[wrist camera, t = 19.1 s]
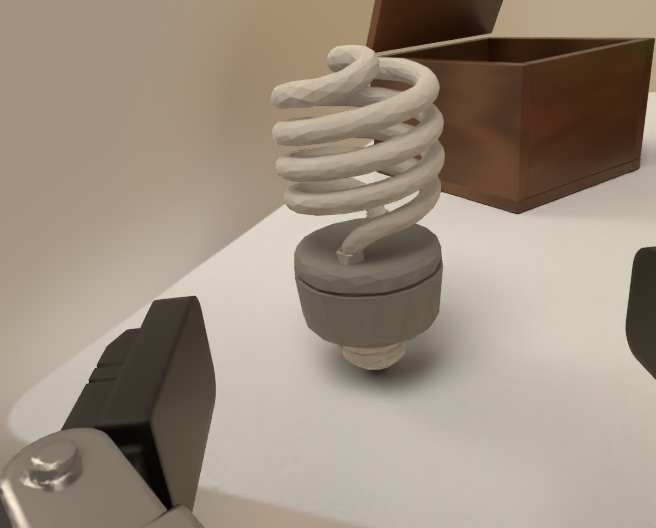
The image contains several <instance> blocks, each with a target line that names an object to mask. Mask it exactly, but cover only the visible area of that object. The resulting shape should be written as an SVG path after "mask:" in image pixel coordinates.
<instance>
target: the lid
mask: <svg viewBox="0 0 656 528" xmlns="http://www.w3.org/2000/svg"><path fill="white" fill-rule="evenodd" d="M502 2H503V0H375V3H374V8H373V13H372V18H371V23H370V28H369V34H368V39H367V44H366V47H368V48H370V49H371V50H373V51H374V52H375V53H377V52H383V51H388V50H394V49H400V48H406V47H412V46H418V45H424V44H430V43H436V42H442V41H448V40H454V39H460V38H465V37H471V36H477V35H483V34H489V33H492V30H493V28H494V25H495V22H496V19H497V16H498V13H499V10H500V7H501V5H502Z"/></svg>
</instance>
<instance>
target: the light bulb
mask: <svg viewBox="0 0 656 528" xmlns="http://www.w3.org/2000/svg"><path fill="white" fill-rule="evenodd" d="M327 63H328V66H329V68H330V69H331V71H334V72H336V73H333V74H330V75H327V76H324V77H320V78H317V79H312V80H299V81H294V82H289V83H284V84H281V85H279V86H277V87H275V89H274V91H273V93H272V95H271V101H272V103H273V105H274V106H275V107H276V108H279V109H288V108H304V107H313V106H354V107H361V108H358V109H354V110H351V111H347V112H341V113H337V114H332V115H327V116H322V117H304V118H294V119H287V120H283V121H280V122H278V123H277V124H276V125H275V126H274V128H273V131H272V136H273V139H274V140H275V141H276V142H277V143H278V144H279V145H284V146H304V145H312V144H320V143H327V142H335V141H340V140H344V139H348V138H369V139H376V140H381V141H384V142H381V143H378V144H375V145H371V146H368V147H365V148H357V147H322V148H313V149H304V150H299V151H294V152H291V153H287V154H284V155H282V156H281V157H280V158H279V159H278V160H277V163H276V171H277V172H278V174H279V176H281V177H282V178H284V179H286V180H290V181H295V182H300V183H297V184H295V185H292V186H290V187H289V188H288V189H287V190H286V191H285V193H284V201H285V203H286V205H287V206H288V208H289V209H291V210H293V211H295V212H296V213H300V214H307V215H316V216H321V215H335V214H346V213H352V212H357V211H363V210H366V211H367V212H368V213H366V216H367V218H362V219H354V220H349V221H345V222H340V223H335V224H332V225H329V226H326V227H324V228H321V229H319V230H316V231H314V232H312V233H311V234H309V235H307V236H306V237H304V239H303V240H302V241H301V242H300V243H299V244H298V246H297V248H296V250H295V253H294V265H295V266H294V269H295V280H296V284H297V289H298V293H299V298H300V302H301V306H302V311H303V314H304V317H305V320H306V322H307V325H308V327H309V328H310V329H311V330H312V331H313V332H315V333H316V334H317V335H319V336H320V337H321V338H322V339H324V340H326V341H329V342H332V343H334V344H337V345H340V346H342V353H343V356H344V357H345V358H346V360H347V361H349V362H350V363H352V364H354V365H356V366H358V367H361V368H364V369H367V370H375V371H379V370H381V369H384V368H387V367H390V366H391V365H393V364H394V363H396V362H397V361H398V360H400V359H401V357H402V356H403V355H404V354H405V352H406V341H408V340H411V339H412V338H414V337H416V336H417V335H419V334H420V333H422V332H424V331H425V330H427V329H428V328H429V327H430V325H431V324H432V323H433V322H434V320H435V318H436V317H437V315H438V313H439V306H440V294H441V282H442V270H443V263H442V255H441V246H440V243H439V241H438V238H437V236H436V235H435V234H433V233H432V232H431V231H430V230H428V229H427V228H426V227H423V226H420V225H418V224H415V223H416V222H418V221H419V220H421V219H422V218H423V217H424V216H425V215H426V214H427V213H428V212H429V211H430V210H431V209H432V208H433V207H434V206H435V204H436V202H437V200H438V199H439V196H440V191H441V182H440V180H439V178H438V174H439V172H440V171H441V169H442V167H443V164H444V157H445V153H444V149H443V146H442V145H441V143H440V142H439V141H438V138H439V137H440V135H441V133H442V131H443V124H444V120H443V116H442V113H441V112H440V111H439V110H438V108H437V107H436V106H435V105H434V104H433V102H434V101H435V99H436V98H437V96H438V93H439V89H440V86H439V82H438V80H437V77H436V76H435V74H434V73H433V72H432V71H431V70H430V69H429V68H427V67H425V66H423V65H421V64H419V63H416V62H414V61H410V60H407V59H404V58H382V57H377V56H376V54H375V52H374V51H373V50H371V49H370V48H368V47H366V46H359V45H347V46H337V47H335V48H334V49H332V50H331V51H330V53H329V55H328V57H327ZM374 79H381V80H392V81H402V82H406V83H408V84H411V85H413V86H414V87H412V88H410V89H408V90H406V91H404V92H402V91H397V90H392V89H387V88H381V87H369V86H368V85H369V84H370V83H371V82H372V81H373V80H374ZM411 118H415V119H416V120H418V121H419V122H420V123H419V124H418V125H417V126H412V125H408V124H405V123H402V122H404V121H406V120H409V119H411ZM419 154H420V155H421V157H422V159H421V160H418V159H416V158H413V157H415V156H417V155H419ZM375 171H383V172H387V173H390V174H394V176H392V177H390V178H387V179H385V180H381V181H378V182H375V183H371V184H365V183H363V182H360V181H358V180H355V179H353V178H348V177H354V176H359V175H364V174H368V173H371V172H375ZM418 190H420V191H419V194H418V195H417V196H416V197H415V198H414V199H413V200H412V201H410V202H409V203H407V204H405V205H403V206H401V207H399V208H397V209H395V210H393V211H391V212H389V211H388V210H385V208H384V205H385V204H388V203H391V202H395V201H398V200H400V199H402V198H404V197H406V196H408V195H410V194H412V193H414V192H416V191H418Z"/></svg>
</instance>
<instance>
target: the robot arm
mask: <svg viewBox="0 0 656 528" xmlns="http://www.w3.org/2000/svg"><path fill="white" fill-rule="evenodd" d="M626 337H627V341H628V344H629V347H630V350H631V352H632V353H633V355H634V356H635V358H636V359H637V360H638V361H639V362H640V363H641V364H642V365H643V366H644V368H645V369H646V370H647V371H648V372H649V373H650V374H651V375H652V376H653V377H654V378H655V379H656V246H655V247H646V248H641V249H640V250H638V252H637V253H636V255H635V257H634V261H633V267H632V275H631V284H630V292H629V300H628V308H627V317H626ZM215 397H216V383H215V373H214V367H213V362H212V357H211V353H210V348H209V343H208V338H207V334H206V329H205V324H204V319H203V315H202V310H201V306H200V303H199V300H198V298H197V297H196V296H188V297H179V298H170V299H160V300H154V301H153V303H152V305H151V307H150V309H149V311H148V313H147V315H146V317H145V319H144V321H143V323H142V326H141V328H138V329H128V330H126V331H125V332H124V333H122V334H121V335H120V336H119V337H118V338H116V339H115V340H114V341H113V342H112V343H110V344H109V345H108V346H107V347H106V349H105V351H104V353H103V354H102V356H101V358H100V360H99V362H98V364H97V368H95V369H94V371H93V373H92V374H91V376H90V378H89V384H86V385H85V387H84V389H83V391H82V393H81V394H80V396H79V398H78V400H77V402H76V404H75V405H74V407H73V409H72V411H71V413H70V415H69V416H68V418H67V420H66V422H65V424H64V425H63V427H62V429H61V431H59V432H56V433H53V434H50V435H48V436H45V437H43V438H41V439H39V440H37V441H35V442H33V443H31V444H30V445H28V446H27V447H25V448H24V449H22V450H21V451H20V452H19V453H17V454H16V455H15V456H14V457H13V458H12V459H11V460H10V461H9V462H8V463H7V464H6V466H5V467H4V468H3V470H2V472H1V473H0V528H204V527H203V526H202V524H201V523H200V522H199V521H198V520H197V519H196V517H195V516H194V515H193V514H192V511H193V506H194V501H195V496H196V491H197V486H198V482H199V477H200V472H201V467H202V462H203V457H204V453H205V448H206V443H207V438H208V433H209V428H210V424H211V419H212V414H213V409H214V404H215Z"/></svg>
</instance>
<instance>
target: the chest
mask: <svg viewBox="0 0 656 528" xmlns="http://www.w3.org/2000/svg"><path fill="white" fill-rule="evenodd" d="M654 42H655V38H566V37H564V38H563V37H558V38H557V37H554V38H552V37H546V38H545V37H543V38H542V37H487V38H481V39H475V40H469V41H463V42H458V43H452V44H446V45H440V46H434V47H428V48H423V49H417V50H411V51H405V52H400V53H394V54H388V55H382V56H377V57H382V58H404V59H407V60H410V61H414V62H416V63H419V64H421V65H423V66H425V67H427V68H429V69H430V70H431V71H432V72H433V73H434V74H435V76H436V77H437V80H438V82H439V86H440V89H439V93H438V96H437V98H436V99H435V101H434V102H433V104H434V105H435V106H436V107H437V108H438V110H439V111H440V112H441V113H442V116H443V120H444V124H443V131H442V133H441V135H440V137H439V138H438V141H439V142H440V143H441V145H442V146H443V149H444V153H445V157H444V164H443V167H442V169H441V171H440V172H439V174H438V178H439V180H440V182H441V191H443V192H447V193H450V194H453V195H457V196H460V197H463V198H467V199H470V200H473V201H477V202H480V203H483V204H487V205H490V206H493V207H497V208H500V209H504V210H507V211H510V212H514V213H517V214H518V213H521V212H523V211H526V210H529V209H531V208H534V207H537V206H539V205H542V204H545V203H547V202H550V201H553V200H555V199H558V198H561V197H564V196H566V195H569V194H572V193H574V192H577V191H580V190H582V189H585V188H588V187H590V186H593V185H596V184H598V183H601V182H604V181H606V180H609V179H612V178H615V177H617V176H620V175H623V174H625V173H628V172H631V171H633V170H636V169H639V167H640V159H641V158H640V157H641V149H642V141H643V133H644V124H645V116H646V108H647V100H648V92H649V83H650V75H651V66H652V59H653V50H654ZM370 85H371V87H381V88H387V89H392V90H397V91H402V92H404V91H406V90H408V89H410V88H412V87H414V86H413V85H411V84H408V83H406V82H402V81H392V80H381V79H374V80H373V81H372V82H371V83H370ZM402 123H405V124H408V125H412V126H417V125H418V124H419V123H420V122H419V121H418V120H416V119H415V118H411V119H409V120H406V121H404V122H402ZM381 142H384V141H381V140H376V139H374V145H375V144H378V143H381ZM413 158H416V159H418V160H421V159H422V157H421V155H420V154H419V155H417V156H415V157H413ZM377 172H380V173H383V174H387V175H390V176H394V174H390V173H387V172H383V171H377Z"/></svg>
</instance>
